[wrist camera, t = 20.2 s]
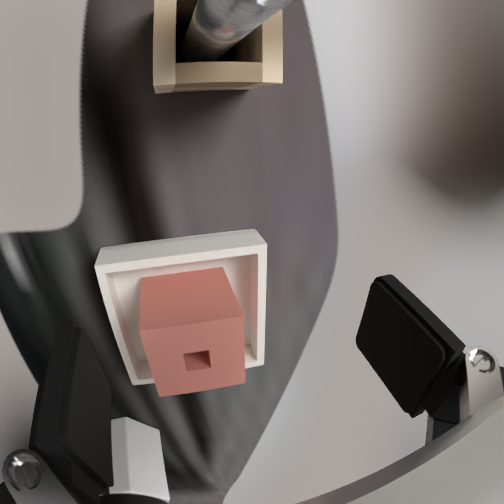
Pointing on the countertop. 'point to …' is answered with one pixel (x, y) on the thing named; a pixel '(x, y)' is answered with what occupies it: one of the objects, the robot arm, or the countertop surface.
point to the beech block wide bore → (215, 73)
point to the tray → (175, 261)
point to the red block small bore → (192, 331)
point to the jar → (136, 465)
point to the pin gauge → (224, 25)
